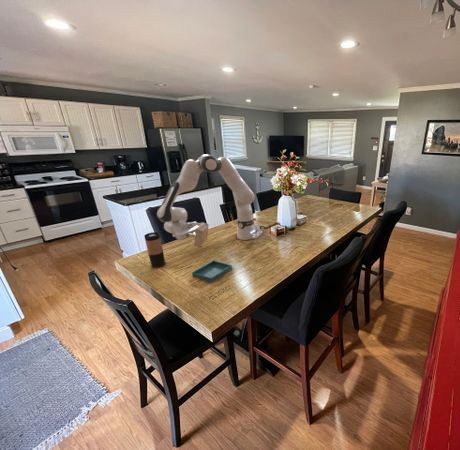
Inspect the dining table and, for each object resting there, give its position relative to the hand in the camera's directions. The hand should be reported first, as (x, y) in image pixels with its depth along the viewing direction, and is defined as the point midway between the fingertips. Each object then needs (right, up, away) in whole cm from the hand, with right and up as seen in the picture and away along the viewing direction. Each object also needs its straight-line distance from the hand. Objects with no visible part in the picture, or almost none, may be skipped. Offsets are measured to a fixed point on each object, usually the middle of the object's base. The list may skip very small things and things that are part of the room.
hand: (200, 233), depth 149 cm
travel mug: (-24, -19, -4) cm, 31 cm away
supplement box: (-1, -6, +2) cm, 7 cm away
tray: (+12, -22, -11) cm, 28 cm away
